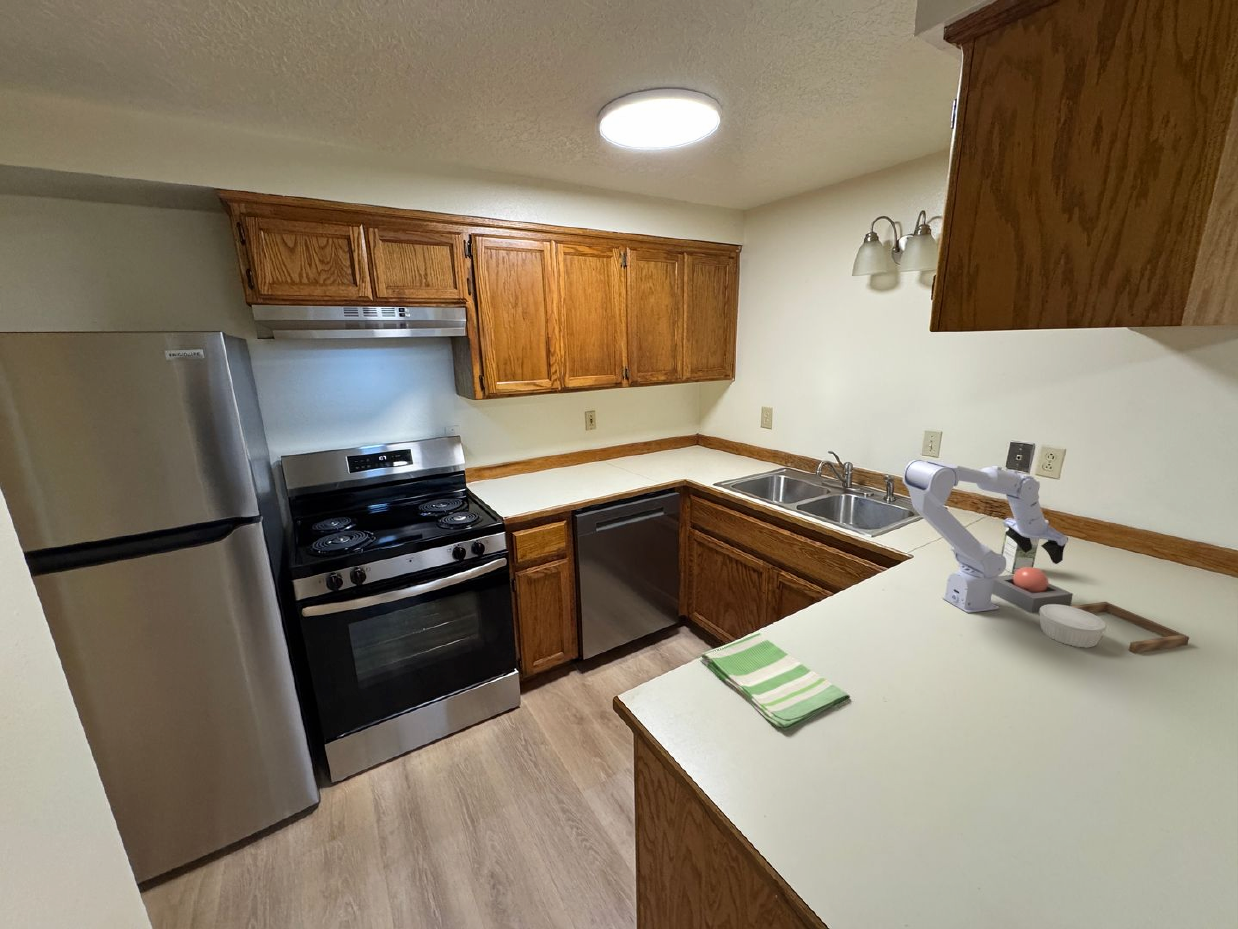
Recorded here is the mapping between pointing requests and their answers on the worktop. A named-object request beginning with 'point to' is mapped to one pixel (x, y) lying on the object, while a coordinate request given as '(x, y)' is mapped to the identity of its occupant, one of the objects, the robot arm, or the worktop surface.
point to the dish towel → (773, 680)
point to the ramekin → (1071, 625)
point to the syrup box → (1018, 554)
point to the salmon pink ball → (1030, 579)
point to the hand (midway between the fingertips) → (1042, 555)
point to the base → (1029, 595)
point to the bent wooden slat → (1169, 636)
